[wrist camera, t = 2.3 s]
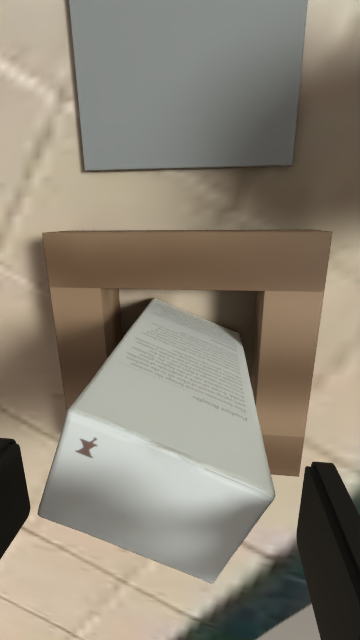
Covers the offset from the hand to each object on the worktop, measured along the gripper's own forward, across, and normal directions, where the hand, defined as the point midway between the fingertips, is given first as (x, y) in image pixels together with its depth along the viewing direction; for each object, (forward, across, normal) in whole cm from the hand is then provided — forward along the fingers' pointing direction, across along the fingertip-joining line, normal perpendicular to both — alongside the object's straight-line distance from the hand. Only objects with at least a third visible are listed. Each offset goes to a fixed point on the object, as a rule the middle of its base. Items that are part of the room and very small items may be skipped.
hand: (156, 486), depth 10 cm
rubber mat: (+10, 0, -16) cm, 19 cm away
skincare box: (+11, 0, -1) cm, 11 cm away
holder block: (+11, 0, -1) cm, 11 cm away
